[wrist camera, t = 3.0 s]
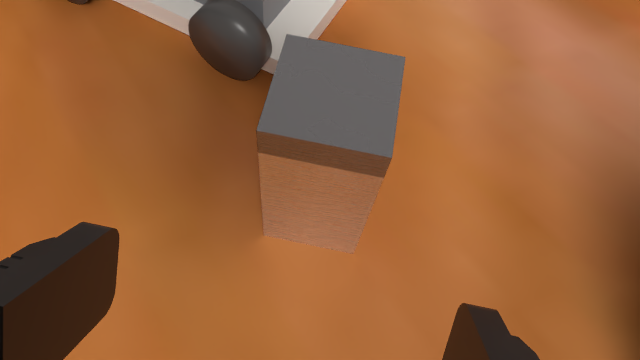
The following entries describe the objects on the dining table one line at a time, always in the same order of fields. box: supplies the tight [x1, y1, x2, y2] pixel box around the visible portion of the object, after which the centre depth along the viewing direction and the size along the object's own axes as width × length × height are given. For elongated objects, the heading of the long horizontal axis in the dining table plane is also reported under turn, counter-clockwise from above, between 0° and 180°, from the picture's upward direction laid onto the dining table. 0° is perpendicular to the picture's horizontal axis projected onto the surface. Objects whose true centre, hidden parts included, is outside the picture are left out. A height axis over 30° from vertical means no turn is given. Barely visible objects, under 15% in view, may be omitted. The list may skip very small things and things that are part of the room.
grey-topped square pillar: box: [256, 34, 405, 254], centre depth 23 cm, size 5×5×10 cm
